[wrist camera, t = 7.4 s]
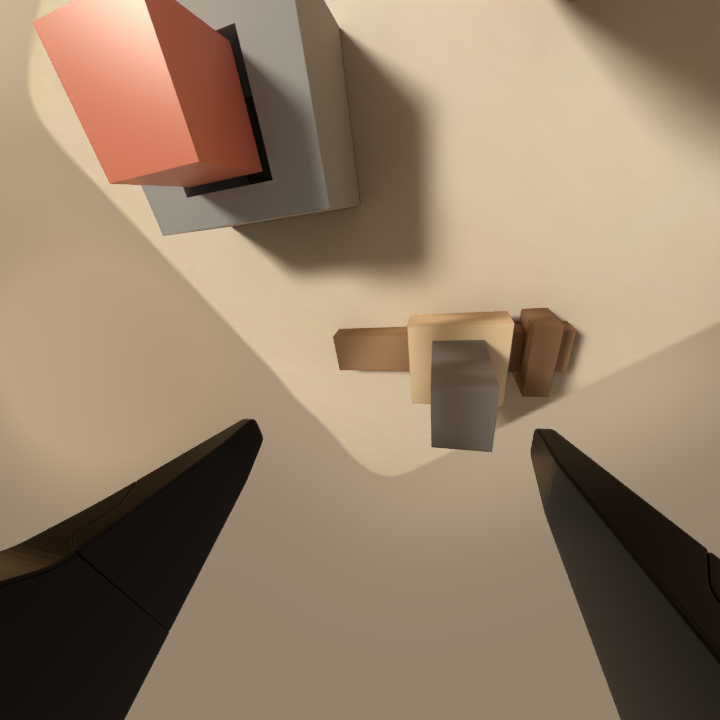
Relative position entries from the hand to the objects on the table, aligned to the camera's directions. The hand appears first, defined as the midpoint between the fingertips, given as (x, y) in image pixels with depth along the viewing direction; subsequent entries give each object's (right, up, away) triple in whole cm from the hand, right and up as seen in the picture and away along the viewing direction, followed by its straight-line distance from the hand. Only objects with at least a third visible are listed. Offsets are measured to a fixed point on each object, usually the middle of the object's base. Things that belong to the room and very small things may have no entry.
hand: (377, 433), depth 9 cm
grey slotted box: (-6, +16, +8) cm, 19 cm away
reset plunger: (-7, +13, +3) cm, 15 cm away
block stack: (+6, +3, +11) cm, 13 cm away
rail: (+6, +4, +12) cm, 14 cm away
